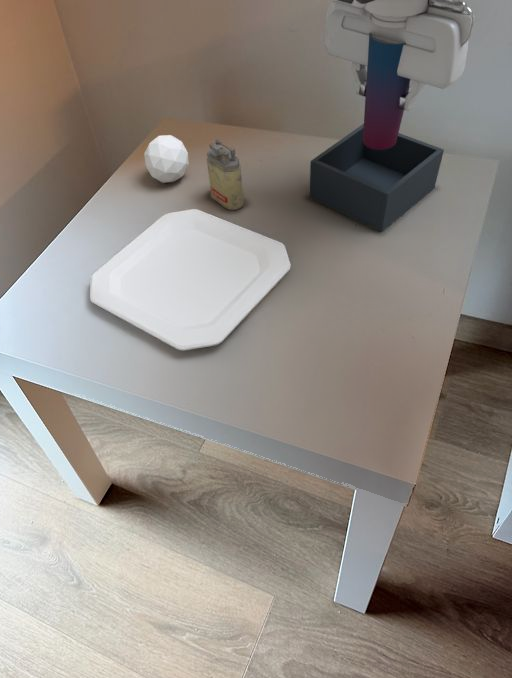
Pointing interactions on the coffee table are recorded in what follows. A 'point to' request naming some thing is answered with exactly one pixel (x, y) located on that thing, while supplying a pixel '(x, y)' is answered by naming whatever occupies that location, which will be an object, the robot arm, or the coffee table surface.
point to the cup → (383, 95)
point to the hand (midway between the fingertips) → (384, 101)
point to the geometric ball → (166, 158)
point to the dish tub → (374, 178)
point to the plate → (189, 278)
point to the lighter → (225, 176)
